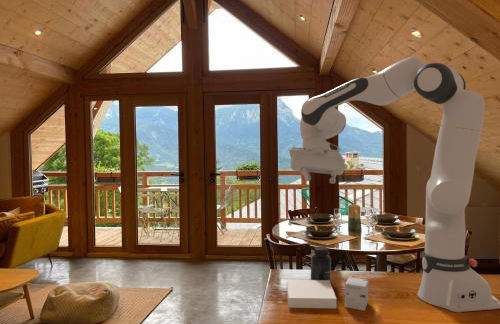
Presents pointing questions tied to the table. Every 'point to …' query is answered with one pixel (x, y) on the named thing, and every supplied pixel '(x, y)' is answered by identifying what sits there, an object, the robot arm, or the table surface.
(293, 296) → the stand
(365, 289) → the skincare box
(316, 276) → the supplement bottle
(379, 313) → the table surface
